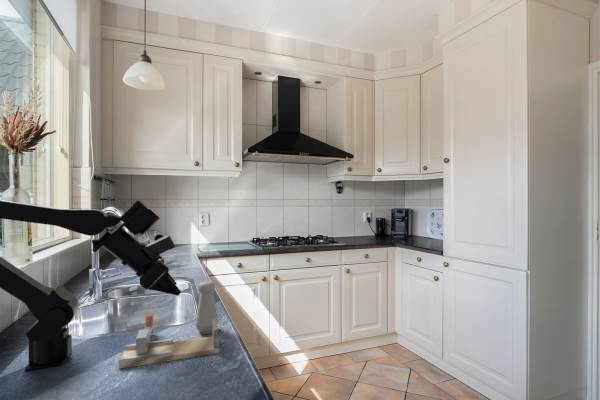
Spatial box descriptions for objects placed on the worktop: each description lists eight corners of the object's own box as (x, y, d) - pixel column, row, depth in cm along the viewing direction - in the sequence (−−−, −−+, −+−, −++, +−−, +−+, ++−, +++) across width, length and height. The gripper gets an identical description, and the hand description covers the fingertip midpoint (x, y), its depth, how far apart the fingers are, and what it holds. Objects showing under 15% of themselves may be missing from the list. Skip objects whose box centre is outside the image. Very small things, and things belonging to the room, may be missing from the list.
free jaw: (135, 358, 67) (135, 338, 67) (146, 330, 82) (146, 313, 82) (146, 357, 68) (146, 336, 68) (154, 329, 83) (154, 312, 83)
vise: (118, 368, 65) (118, 342, 65) (125, 353, 72) (125, 329, 72) (218, 352, 72) (218, 329, 72) (216, 339, 79) (216, 318, 79)
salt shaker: (211, 336, 81) (211, 285, 81) (191, 334, 82) (190, 284, 82) (221, 327, 86) (221, 279, 86) (202, 326, 88) (202, 279, 88)
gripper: (156, 227, 70) (207, 271, 75) (151, 222, 87) (194, 259, 92) (115, 266, 66) (172, 310, 72) (119, 253, 83) (165, 290, 88)
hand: (177, 289), depth 81 cm, fingers open, 9 cm apart
